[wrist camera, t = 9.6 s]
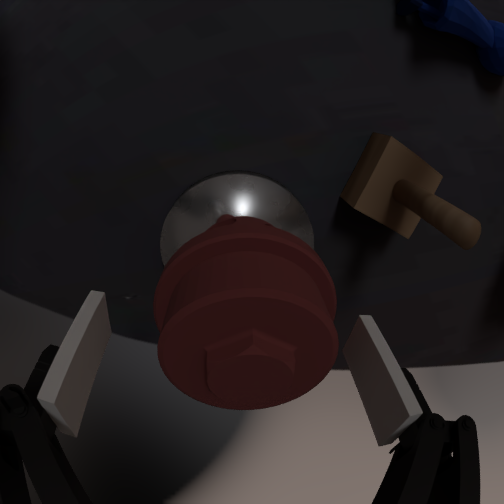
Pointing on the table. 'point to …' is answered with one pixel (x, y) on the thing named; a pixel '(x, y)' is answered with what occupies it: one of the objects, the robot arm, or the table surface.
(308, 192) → the table surface
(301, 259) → the mechanical component
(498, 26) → the toy
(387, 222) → the brown wooden peg block
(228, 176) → the grey round disc
